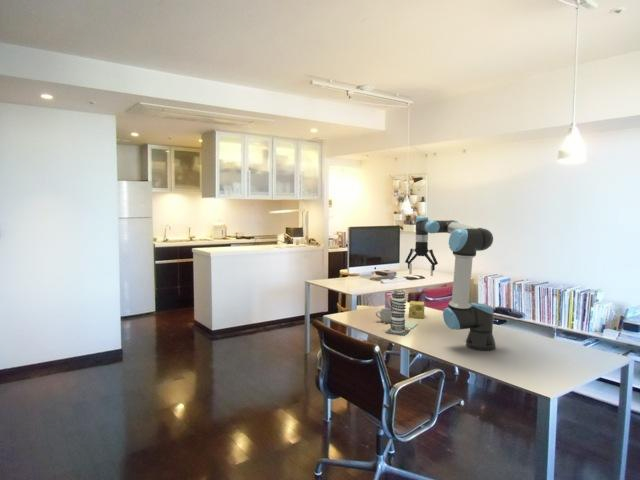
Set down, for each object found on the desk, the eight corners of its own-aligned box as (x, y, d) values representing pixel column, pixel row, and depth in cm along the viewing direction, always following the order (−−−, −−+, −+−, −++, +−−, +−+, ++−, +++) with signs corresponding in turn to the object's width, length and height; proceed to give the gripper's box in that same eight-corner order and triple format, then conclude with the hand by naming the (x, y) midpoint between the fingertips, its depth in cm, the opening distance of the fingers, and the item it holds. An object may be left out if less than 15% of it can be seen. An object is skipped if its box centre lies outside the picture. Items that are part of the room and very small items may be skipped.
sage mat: (417, 324, 277) (417, 323, 277) (412, 329, 266) (412, 328, 266) (399, 322, 282) (399, 321, 282) (393, 326, 272) (393, 325, 272)
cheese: (408, 318, 293) (408, 303, 292) (409, 314, 303) (410, 300, 302) (424, 319, 290) (424, 304, 289) (424, 315, 300) (425, 301, 299)
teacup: (396, 320, 287) (396, 308, 287) (397, 324, 277) (397, 312, 276) (375, 319, 289) (375, 307, 288) (375, 323, 278) (375, 311, 277)
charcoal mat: (410, 330, 263) (410, 329, 263) (404, 335, 252) (404, 334, 252) (391, 328, 268) (391, 327, 268) (385, 333, 258) (385, 332, 258)
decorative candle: (408, 332, 257) (409, 291, 255) (394, 333, 255) (394, 292, 253) (401, 328, 266) (402, 288, 264) (387, 329, 264) (388, 289, 262)
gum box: (402, 318, 291) (402, 299, 290) (390, 318, 291) (391, 299, 290) (395, 310, 315) (395, 292, 314) (384, 310, 315) (384, 292, 314)
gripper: (443, 241, 267) (442, 275, 269) (404, 240, 279) (403, 272, 281) (440, 242, 261) (439, 277, 262) (400, 241, 272) (400, 274, 274)
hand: (420, 274), depth 271 cm, fingers open, 13 cm apart
